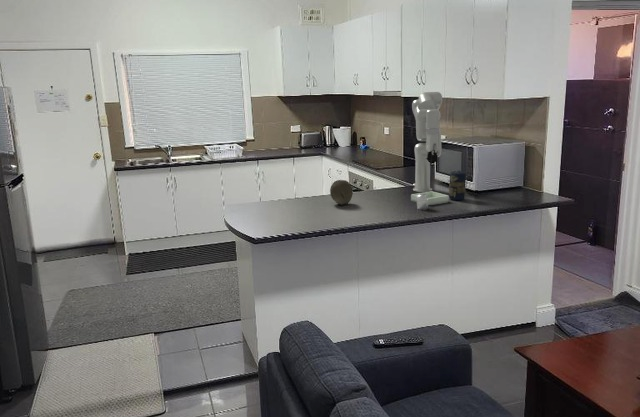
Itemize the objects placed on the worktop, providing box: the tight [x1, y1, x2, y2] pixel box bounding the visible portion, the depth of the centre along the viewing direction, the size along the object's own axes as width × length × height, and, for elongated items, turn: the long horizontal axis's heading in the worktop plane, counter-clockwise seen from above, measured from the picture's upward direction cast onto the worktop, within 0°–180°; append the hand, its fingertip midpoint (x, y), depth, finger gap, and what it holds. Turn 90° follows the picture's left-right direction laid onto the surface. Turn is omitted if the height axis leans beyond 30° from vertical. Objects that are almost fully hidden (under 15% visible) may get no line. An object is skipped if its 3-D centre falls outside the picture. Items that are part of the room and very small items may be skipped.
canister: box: [448, 170, 467, 201], centre depth 317 cm, size 10×10×18 cm
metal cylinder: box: [416, 194, 428, 211], centre depth 299 cm, size 6×6×8 cm
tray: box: [410, 190, 450, 207], centre depth 316 cm, size 16×16×4 cm
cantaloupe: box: [329, 179, 354, 206], centre depth 315 cm, size 14×14×15 cm
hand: (432, 161), depth 303 cm, fingers open, 9 cm apart
